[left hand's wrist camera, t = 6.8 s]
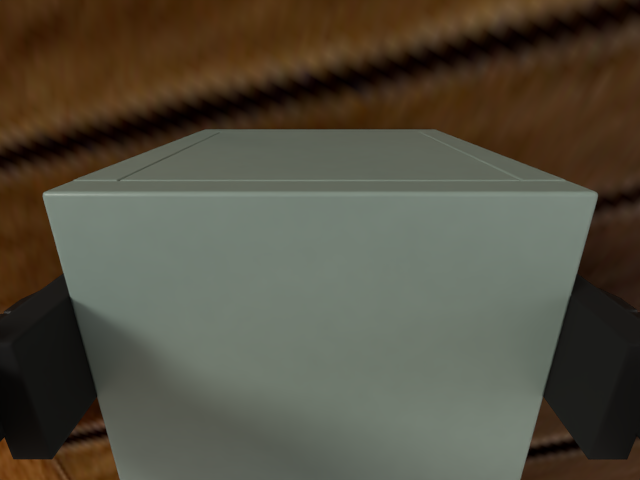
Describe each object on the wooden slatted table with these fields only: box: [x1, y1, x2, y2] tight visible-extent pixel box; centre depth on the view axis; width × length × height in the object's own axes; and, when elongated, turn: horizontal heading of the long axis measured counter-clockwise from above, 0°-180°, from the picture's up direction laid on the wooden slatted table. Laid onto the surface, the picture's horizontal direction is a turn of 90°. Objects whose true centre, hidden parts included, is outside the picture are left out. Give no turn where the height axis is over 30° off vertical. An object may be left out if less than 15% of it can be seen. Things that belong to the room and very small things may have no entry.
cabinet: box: [43, 129, 598, 480], centre depth 15 cm, size 16×10×11 cm, turn 0°
